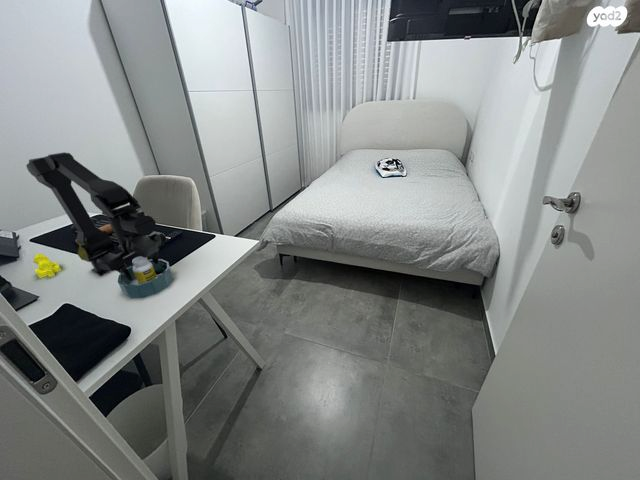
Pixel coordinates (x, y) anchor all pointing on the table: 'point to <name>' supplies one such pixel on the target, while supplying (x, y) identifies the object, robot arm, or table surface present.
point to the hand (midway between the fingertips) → (144, 271)
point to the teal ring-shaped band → (150, 286)
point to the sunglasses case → (105, 229)
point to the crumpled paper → (45, 266)
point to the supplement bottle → (143, 269)
